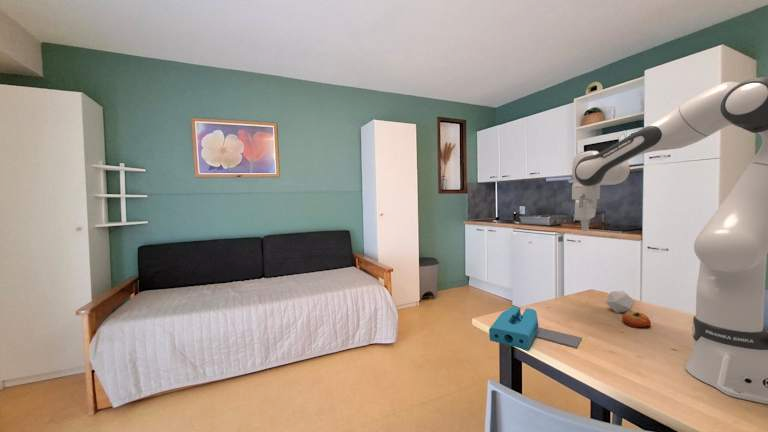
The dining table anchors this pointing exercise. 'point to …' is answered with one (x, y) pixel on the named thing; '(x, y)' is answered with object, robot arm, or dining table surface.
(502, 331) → the block
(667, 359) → the dining table surface
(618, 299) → the die
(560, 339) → the mat
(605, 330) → the dining table surface
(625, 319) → the tomato
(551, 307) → the dining table surface
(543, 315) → the dining table surface
